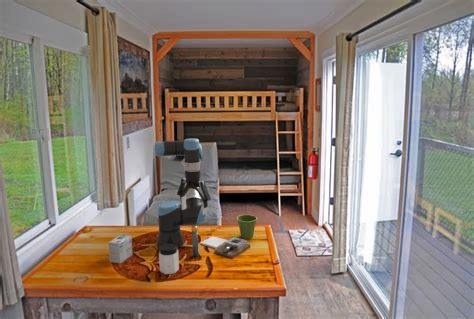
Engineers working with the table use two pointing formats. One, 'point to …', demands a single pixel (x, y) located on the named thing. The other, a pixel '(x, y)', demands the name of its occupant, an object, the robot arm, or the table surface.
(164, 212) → the robot arm
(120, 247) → the light bulb box
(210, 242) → the mat
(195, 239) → the copper and gray cylinder
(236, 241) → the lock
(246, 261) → the table surface
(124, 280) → the table surface
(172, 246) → the jar
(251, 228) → the plant pot
